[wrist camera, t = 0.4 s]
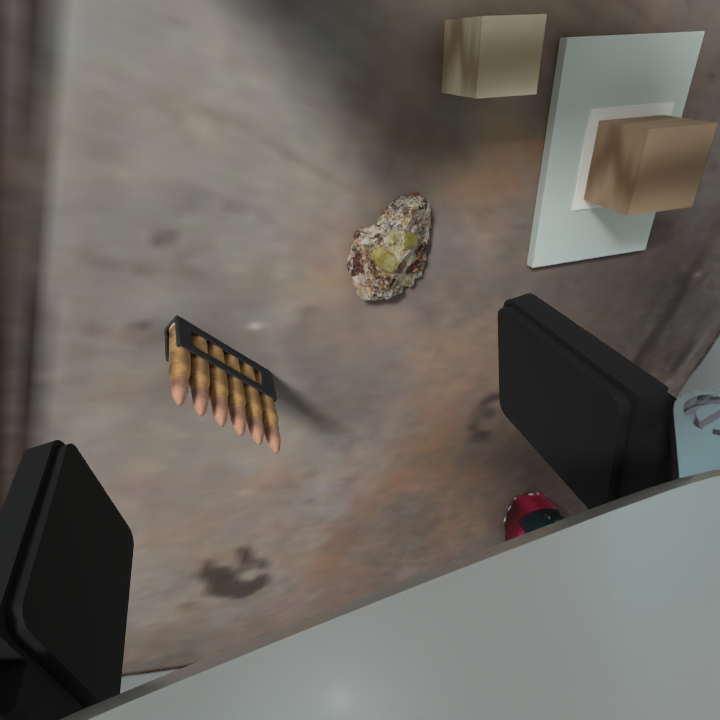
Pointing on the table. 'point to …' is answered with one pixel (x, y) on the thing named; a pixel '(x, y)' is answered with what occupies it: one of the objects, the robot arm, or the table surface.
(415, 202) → the mineral rock
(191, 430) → the table surface
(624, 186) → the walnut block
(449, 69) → the maple block
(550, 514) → the power drill
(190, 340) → the ammunition clip
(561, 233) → the board
